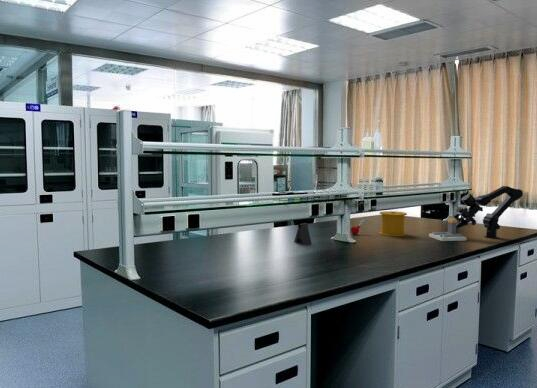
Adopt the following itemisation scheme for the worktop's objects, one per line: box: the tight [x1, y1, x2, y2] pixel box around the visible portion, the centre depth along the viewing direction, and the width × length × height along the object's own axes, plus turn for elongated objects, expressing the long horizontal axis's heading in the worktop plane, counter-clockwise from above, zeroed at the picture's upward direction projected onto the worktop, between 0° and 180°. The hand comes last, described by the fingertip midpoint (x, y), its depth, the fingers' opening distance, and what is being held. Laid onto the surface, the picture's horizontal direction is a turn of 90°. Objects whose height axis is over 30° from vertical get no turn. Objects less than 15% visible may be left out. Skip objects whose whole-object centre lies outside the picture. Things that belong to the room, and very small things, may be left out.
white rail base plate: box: [428, 231, 468, 242], centre depth 286 cm, size 17×16×4 cm
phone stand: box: [293, 222, 312, 245], centre depth 268 cm, size 9×6×12 cm, turn 43°
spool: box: [378, 210, 408, 237], centre depth 301 cm, size 18×18×15 cm
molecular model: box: [349, 219, 367, 235], centre depth 298 cm, size 18×6×10 cm, turn 126°
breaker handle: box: [445, 218, 457, 234], centre depth 286 cm, size 4×6×10 cm, turn 9°
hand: (455, 228), depth 286 cm, fingers closed
